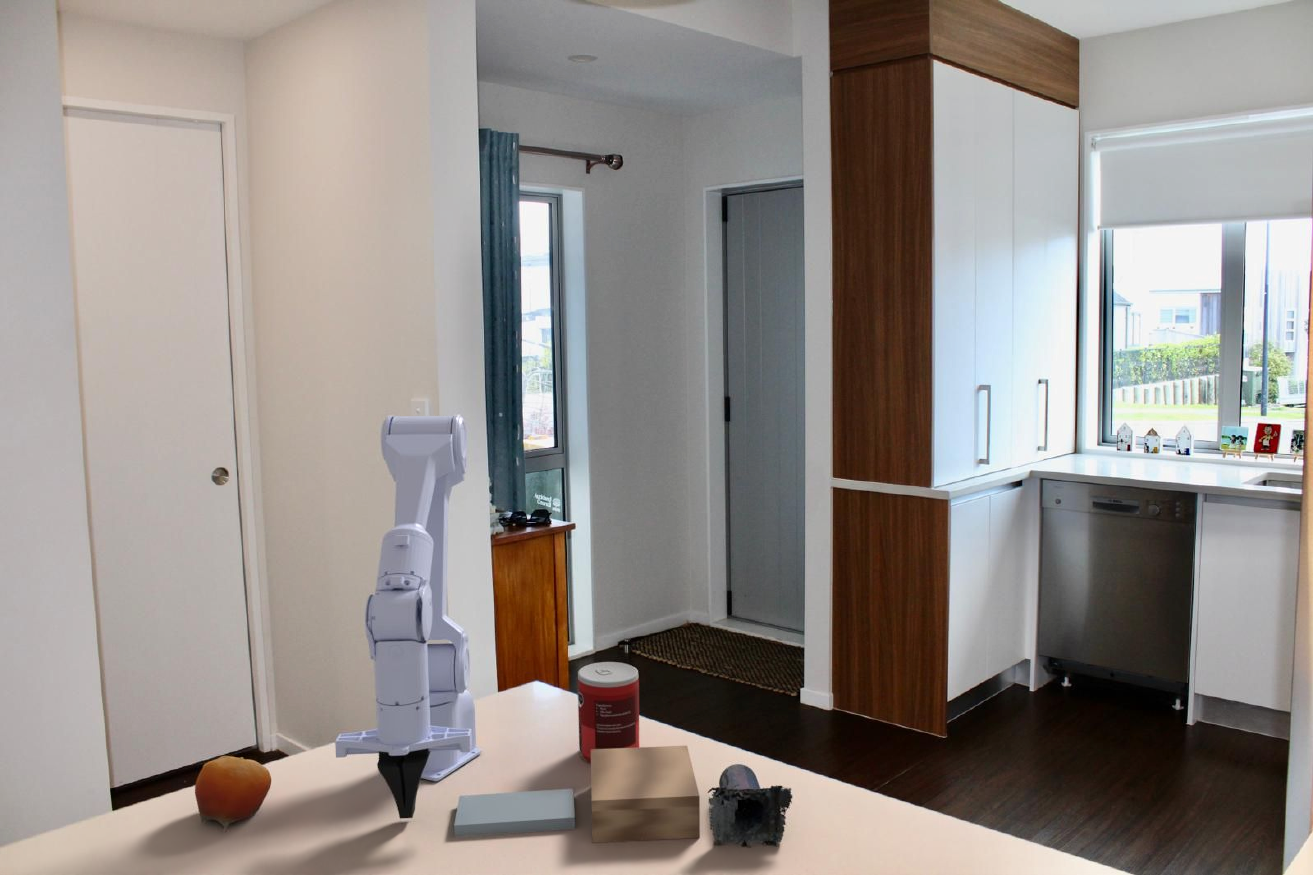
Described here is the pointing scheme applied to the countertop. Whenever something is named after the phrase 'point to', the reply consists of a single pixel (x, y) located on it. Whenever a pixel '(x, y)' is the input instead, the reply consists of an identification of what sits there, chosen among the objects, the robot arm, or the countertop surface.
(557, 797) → the tile
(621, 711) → the canned food
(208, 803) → the fruit
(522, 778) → the countertop surface
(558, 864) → the countertop surface
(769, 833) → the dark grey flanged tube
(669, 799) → the brown wooden block
